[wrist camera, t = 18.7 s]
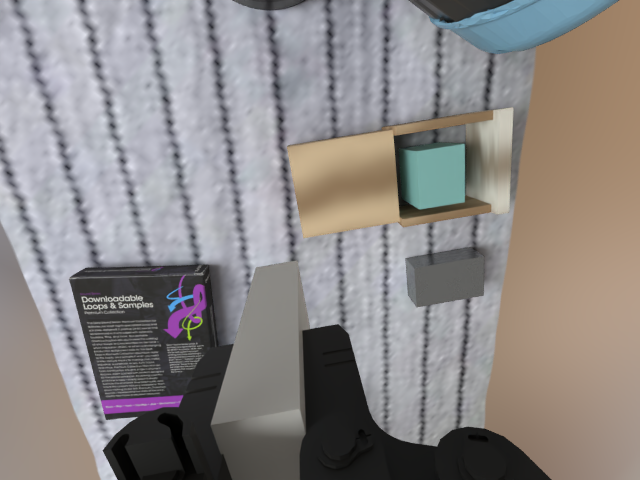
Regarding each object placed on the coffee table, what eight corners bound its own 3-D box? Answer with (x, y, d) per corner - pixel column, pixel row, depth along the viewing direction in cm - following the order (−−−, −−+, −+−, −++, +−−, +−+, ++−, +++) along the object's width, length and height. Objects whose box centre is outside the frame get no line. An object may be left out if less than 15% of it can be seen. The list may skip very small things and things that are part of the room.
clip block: (416, 151, 29) (464, 143, 29) (398, 148, 35) (439, 142, 35) (419, 209, 31) (464, 202, 31) (401, 198, 36) (440, 192, 36)
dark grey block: (405, 258, 39) (414, 268, 36) (470, 247, 39) (484, 256, 36) (408, 294, 40) (416, 307, 37) (470, 284, 40) (483, 295, 38)
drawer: (287, 142, 33) (285, 144, 28) (476, 111, 34) (513, 107, 28) (303, 229, 36) (304, 247, 31) (476, 200, 37) (509, 212, 31)
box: (225, 392, 44) (211, 261, 38) (220, 413, 41) (204, 274, 34) (118, 398, 43) (85, 264, 36) (104, 421, 39) (64, 278, 33)
